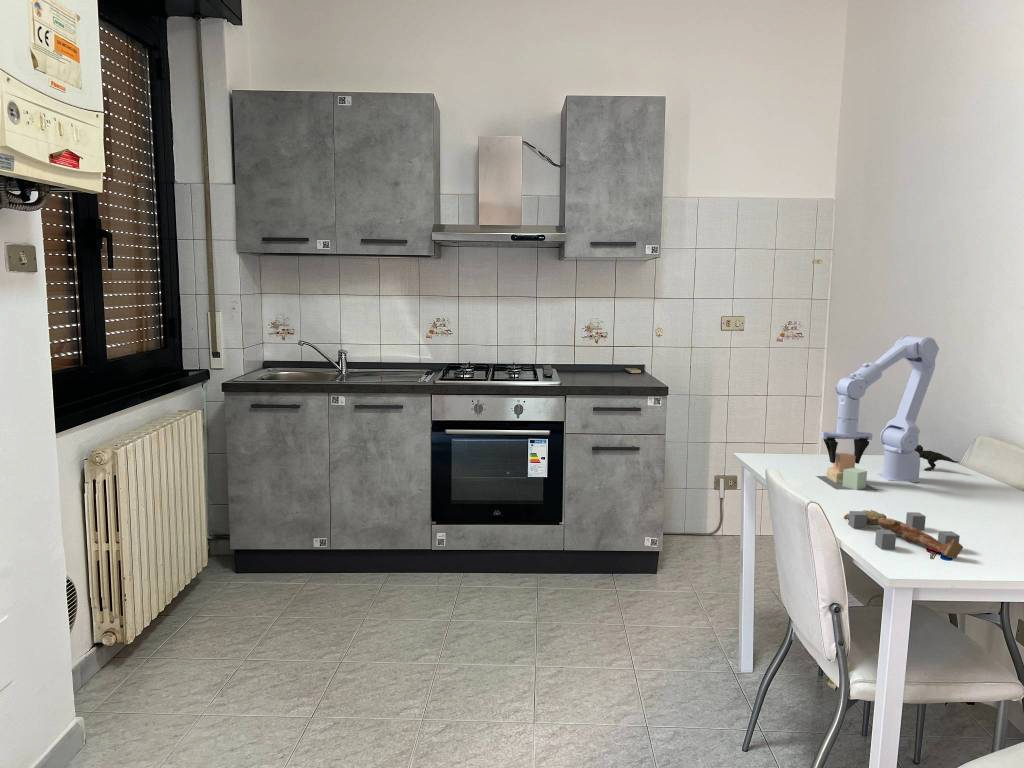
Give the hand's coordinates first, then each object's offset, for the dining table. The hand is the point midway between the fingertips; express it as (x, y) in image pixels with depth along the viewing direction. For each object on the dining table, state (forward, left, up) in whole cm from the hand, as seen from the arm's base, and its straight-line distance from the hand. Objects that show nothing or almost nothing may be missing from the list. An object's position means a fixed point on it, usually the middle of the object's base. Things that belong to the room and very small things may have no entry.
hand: (844, 462), depth 222 cm
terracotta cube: (0, 0, -2) cm, 2 cm away
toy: (-36, -16, -6) cm, 40 cm away
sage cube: (0, +8, -5) cm, 9 cm away
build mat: (+1, +3, -6) cm, 7 cm away
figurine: (+8, +50, -6) cm, 51 cm away
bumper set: (+8, +50, -6) cm, 51 cm away
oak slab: (0, 0, -5) cm, 5 cm away
